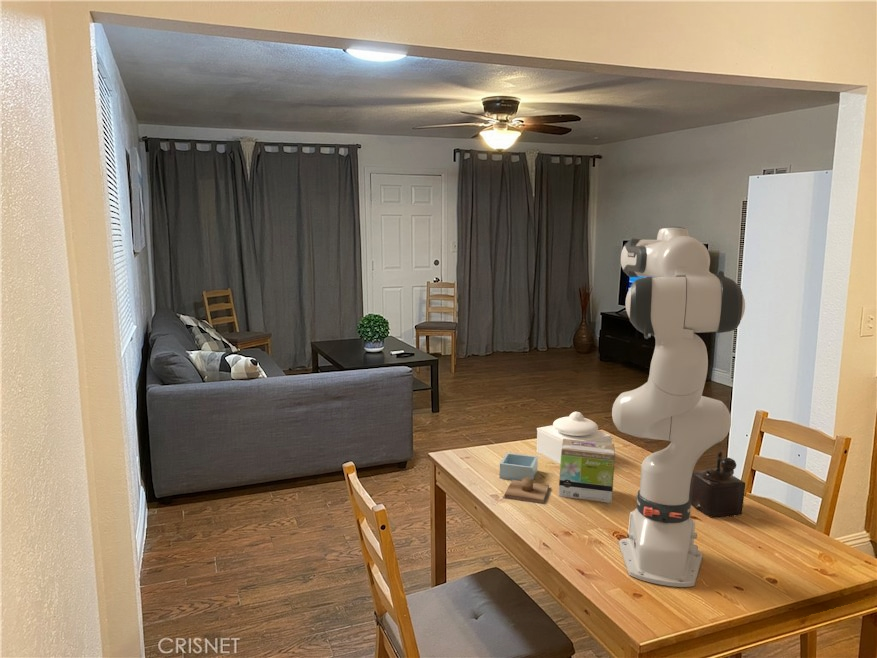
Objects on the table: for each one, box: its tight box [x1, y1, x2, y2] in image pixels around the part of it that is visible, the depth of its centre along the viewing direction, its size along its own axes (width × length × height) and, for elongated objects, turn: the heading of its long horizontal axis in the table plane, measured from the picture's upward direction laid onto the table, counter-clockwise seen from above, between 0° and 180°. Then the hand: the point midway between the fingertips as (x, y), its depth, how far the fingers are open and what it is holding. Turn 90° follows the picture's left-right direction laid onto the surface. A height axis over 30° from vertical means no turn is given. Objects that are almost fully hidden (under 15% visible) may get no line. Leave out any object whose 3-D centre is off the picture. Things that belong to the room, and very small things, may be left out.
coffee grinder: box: [689, 451, 746, 518], centre depth 171 cm, size 16×11×18 cm
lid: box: [504, 478, 550, 504], centre depth 182 cm, size 11×11×4 cm
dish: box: [499, 452, 539, 481], centre depth 196 cm, size 10×10×5 cm
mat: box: [502, 486, 552, 505], centre depth 182 cm, size 12×12×1 cm
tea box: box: [558, 439, 616, 504], centre depth 182 cm, size 15×10×15 cm, turn 76°
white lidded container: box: [535, 411, 613, 465], centre depth 212 cm, size 18×18×16 cm
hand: (665, 338), depth 172 cm, fingers open, 8 cm apart
